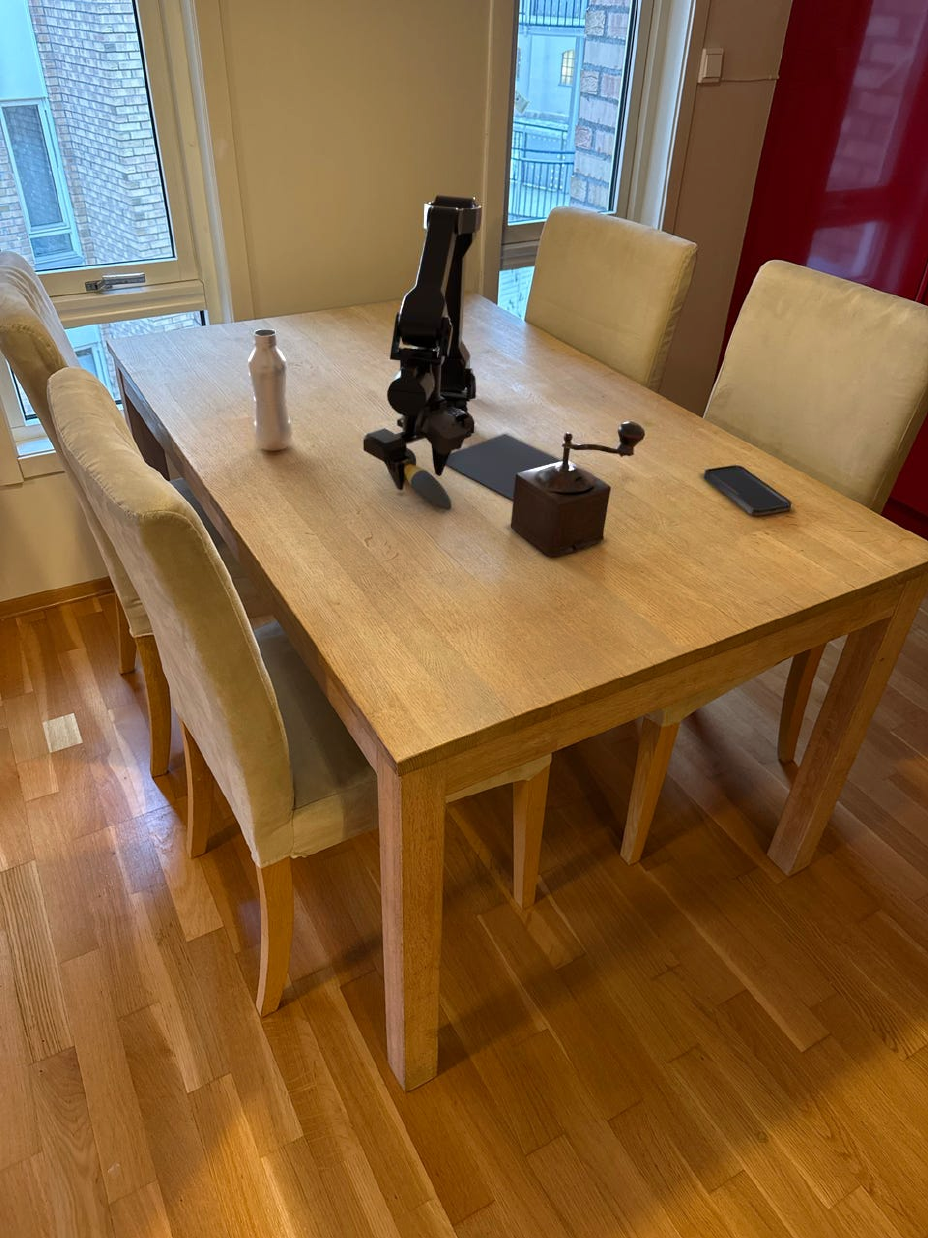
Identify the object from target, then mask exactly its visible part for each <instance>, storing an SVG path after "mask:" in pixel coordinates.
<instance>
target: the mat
mask: <svg viewBox="0 0 928 1238" xmlns="http://www.w3.org/2000/svg"><path fill="white" fill-rule="evenodd" d="M558 462H562V460H561V459H559V458H556V457H554V456H552V455H550V454H548V453H546V452H545V451H542V450H540V449H538V448H535V447H533V446H531V445H529V444H528V443H525V442H523V441H521V440H519V439H516V438H514V437H512V436H511V435H508V434H506V433H504V434H502V435H498V436H496V437H493V438H490V439H487V440H485V441H482V442H480V443H476V444H474V445H471V446H468V447H465V448H461V449H459V450H457V451H454V452H451V453H450V455H449V458H448V460H447V462H446V465H445V467H448V468H450V469H452V470H454V471H456V472H458V473H460V474H462V475H464V476H465V477H467V478H469V479H471V480H473V481H474V482H476V483H478V484H480V485H482V486H483V487H486V488H487V489H489V490H491V491H493V492H495V493H497V494H498V495H501V496H503V497H505V498H507V499H508V500H510V501H512V502H513V497H514V487H515V476H516V473H520V472H524V471H527V470H531V469H535V468H539V467H543V466H547V465H551V464H555V463H558Z"/></svg>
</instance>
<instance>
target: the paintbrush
mask: <svg viewBox="0 0 928 1238" xmlns="http://www.w3.org/2000/svg"><path fill="white" fill-rule="evenodd" d="M405 455H407V456H409V457H410V459H408V460H407V461H406V462H405V468H404V478H406V479H407V482H408V483H409V486H410V487H411V488H412V490H413V491H414V492H415V493H416V494H417V495H418V496H420V497H421V498H422V499H424V500H425V501H426V502H428V503H430V504H431V505H432V506H435V507H436V508H439V509H442V510H445V511H447V510H451V508H452V501H451V498H450V496H449V495H448V492H447V491H446V489H445V488H444V487H443V485H442V484H441V483H440V481H438V480H437V478H436V477H435V476H434V475H433V474H431V472H429V470H426V469H424V468H422V467H420V466H417V457H416V455H415V453H414V452H413V450H412V449H410V448H409V447H407V450H406V453H405Z"/></svg>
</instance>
